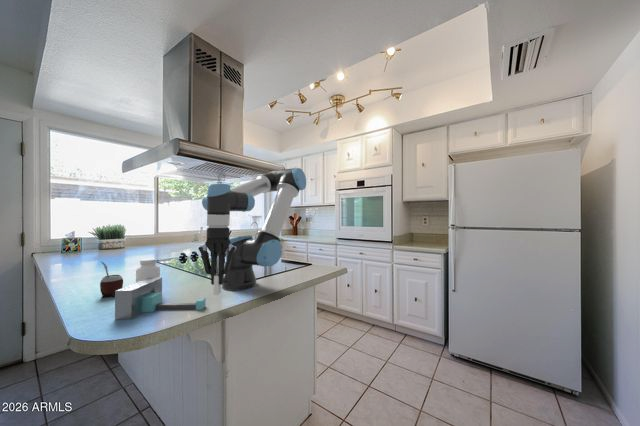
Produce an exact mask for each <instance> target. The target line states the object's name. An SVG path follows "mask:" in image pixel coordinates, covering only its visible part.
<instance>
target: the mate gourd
mask: <svg viewBox="0 0 640 426" xmlns="http://www.w3.org/2000/svg"><path fill="white" fill-rule="evenodd" d="M101 264H102V265H103V266H104V269H105V273H106V276H103V277H102V279H101V280H100V283H99V288H100V289H99V290H100V293H101V299H105V298H109V297H111V298H112V297H113V298H115V291H116V290H119V289H121V288H124V286H123V285H124V278H123V276H122V275H120V274H110V275H109V270H108V266H107V265H106V263H105V262H103V261H101Z"/></svg>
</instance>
